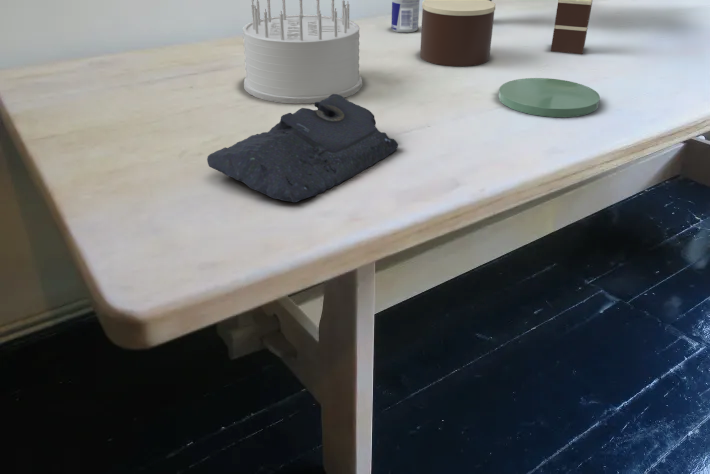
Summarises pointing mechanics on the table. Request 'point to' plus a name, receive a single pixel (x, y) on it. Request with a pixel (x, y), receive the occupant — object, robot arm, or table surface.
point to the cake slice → (571, 26)
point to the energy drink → (405, 15)
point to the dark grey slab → (307, 151)
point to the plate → (549, 97)
